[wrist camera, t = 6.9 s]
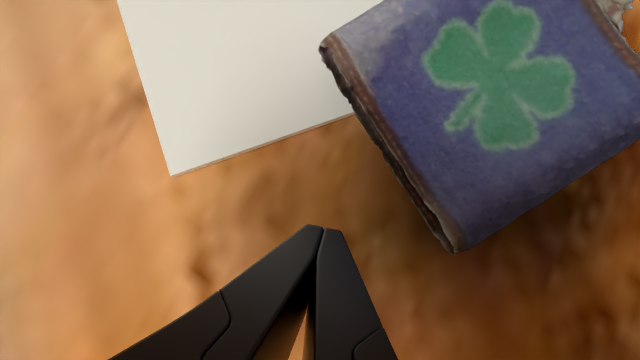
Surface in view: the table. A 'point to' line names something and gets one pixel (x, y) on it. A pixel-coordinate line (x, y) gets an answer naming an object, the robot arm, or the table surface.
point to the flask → (488, 101)
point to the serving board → (235, 72)
